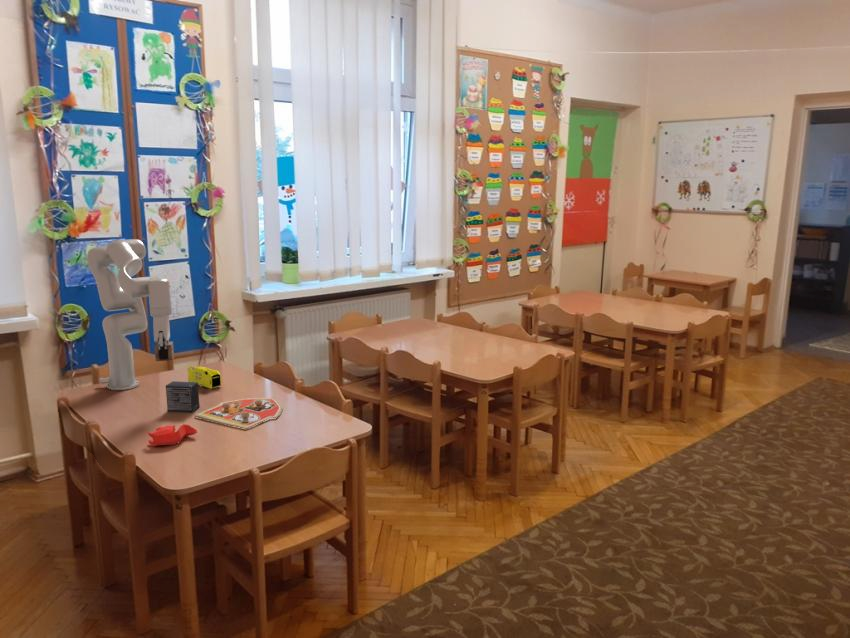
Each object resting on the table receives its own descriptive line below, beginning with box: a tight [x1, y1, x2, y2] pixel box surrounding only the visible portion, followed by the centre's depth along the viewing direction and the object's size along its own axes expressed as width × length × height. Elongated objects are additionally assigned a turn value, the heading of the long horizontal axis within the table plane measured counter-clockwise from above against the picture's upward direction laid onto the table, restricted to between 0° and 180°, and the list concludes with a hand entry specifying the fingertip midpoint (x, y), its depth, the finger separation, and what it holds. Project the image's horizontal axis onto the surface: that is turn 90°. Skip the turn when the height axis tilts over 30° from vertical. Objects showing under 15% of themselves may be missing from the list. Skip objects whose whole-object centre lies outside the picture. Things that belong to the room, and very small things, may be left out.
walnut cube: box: [153, 341, 175, 362], centre depth 254 cm, size 6×6×6 cm
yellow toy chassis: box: [187, 365, 222, 390], centre depth 284 cm, size 16×6×8 cm, turn 55°
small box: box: [165, 381, 200, 413], centre depth 255 cm, size 11×6×10 cm, turn 84°
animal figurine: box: [147, 424, 198, 448], centre depth 226 cm, size 12×15×5 cm
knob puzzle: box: [194, 397, 284, 429], centre depth 254 cm, size 29×30×4 cm
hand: (164, 356), depth 254 cm, fingers closed on walnut cube, 6 cm apart
